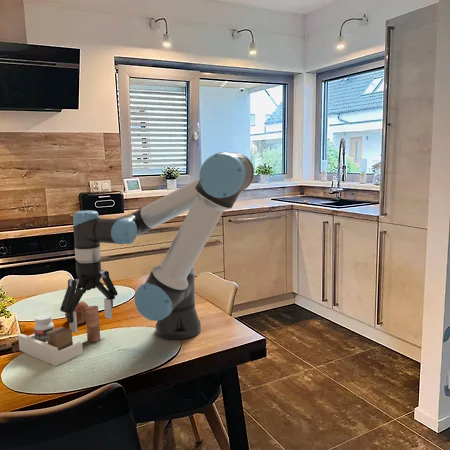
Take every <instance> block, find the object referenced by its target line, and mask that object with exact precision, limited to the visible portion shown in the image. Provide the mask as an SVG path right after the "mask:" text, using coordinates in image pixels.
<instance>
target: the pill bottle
mask: <svg viewBox="0 0 450 450" xmlns="http://www.w3.org/2000/svg"><path fill="white" fill-rule="evenodd" d="M52 318H53V317H52V315H51V314H41V315H37V316H36V317H34V323H36V324H34V326H33V331H34V333H33V334H35V339H37V340H39V341H42V342H47V332H48V331H51V330H54V329H55V325H54V322H53V321H52V320H53V319H52Z"/></svg>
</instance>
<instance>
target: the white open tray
mask: <svg viewBox="0 0 450 450" xmlns="http://www.w3.org/2000/svg"><path fill="white" fill-rule="evenodd" d="M17 338H18V347H19V351H20V352H23V353H25V354H27V355H30V356H32V357H34V358H36V359H38V360H41V361H43V362H45V363H48V364H49V365H52V366H54V367H57V366H60V365H62V364H64V363H66V362H68V361H70V360H72V359H74V358H76V357H79V356H81V355H84V354H83V353H84V352H83V351H84V349H83V346H82V343H83V342H81V341H79V342H78V341H77V342H76V343H74V344H73V345H71V346H69V347H66V348H64V349H62V350H59V351H58V348H57V347H54V346H52V345H49V344H48V341H47V342H42V341H39V340H37V339H35V334H34V333H32V334H30V335H26V334H23V333H19V334H18V335H17Z"/></svg>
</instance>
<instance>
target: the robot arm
mask: <svg viewBox="0 0 450 450" xmlns="http://www.w3.org/2000/svg"><path fill="white" fill-rule="evenodd" d="M254 169H255V168H254V165H253V163H252V161H251V159H250V158H249V157H248V156H246V155H244V154H243V153H241V152H234V151H233V152H230V151H221V152H217V153H215V154H214V153H213V154H212V155H211V156H209V157H208V158H206V159H205V161H204V162H203V163H202V165H201V167H200V170H199V175H198V178H197V179H195V180H193V181H191V182H189V183H187V184H185V185H184V186H182V187H179V188H178V189H175V190H174V191H172V192H169V193H168V194H166V195H164V196H162V197H161V198H159V199H157V200H155V201H153V202H151V203H149V204H146V205H145V206H144V207H141V208H140V209H138V210H135V211H134V212H131V213H129V214H127V215H126V214H125V215H122V216H119V217H116V218H103V217H100V216H99V212H98V211H97V210H91V209H90V210H88V209H87V210H79V211H75V212H74V213H73V216H72V218H73V219H72V220H73V221H72V222H73V223H72V224H73V225H72V230H73V239H74V254H75V255H74V257H75V261H76V262H75V273H76V275H77V276H76V277H77V278H76V279H70V278H69V279H68V280H67V288H66V291H65V295H64V297H63V300H62V303H61V306H60V309H59V311H60V312H62V313H64V314H65V313H67V318H66V321H67V323H68V324H69V329H70V330H72V333H74V334H76V333H78V324H77V317H76V312H74V310H75V308H76V306H77V305H78V303H79V302H81V299H82V297H83V295H84V294H86V292H87V291H91V290H93V289H97V290H99V292H100V293H101V294H103V295H104V298H103V306H104V318H106V319H109V320H112V319H113V310H112V309H113V307H114V301H113V300H115V298H116V297H117V296H118V295H119V293H118V291H117V289H116V287H115V285H114V284H113V281H112V280H111V278H110V273H109V271H108V270H104V269H102V261H101V260H100V259H101V257H102V256H101V243H103V244H115V245H117V244H118V245H131V244H133V243H134V242H135V240H136V238H137V237H138V236H141V235H144V234H146V233H148V231H150V230H152V229H154V228H156V227H158V226H160V225H163V224H164V223H166V222H168V221H169V220H172V219H174V218H176V217H178V216H180V215H182V214H184V213H186V212H187V213H186V216H185V219H184V220H183V221H182V224H181V226H180V228H179V229H178V231H177V232H176V235H175V237H174V238H173V240H172V243H171V244H170V246H169V248H168V250H167V251H166V254H165V256H164V258H162V259H163V260H162V261H161V263H160V264H157V265H154V266H153V268H152V269H151V271H150V273H149V274H148V276H147V279H146V280H145V281H144V283H143V284H141V285H140V286H139V287H138V289H136V291H135V293H134V305H135V307H136V310H137V312H138V313H139V314H140V315H141V316H142V317H144V318H145V319H147V320H149V321H154V322H156V324H155V334H156V336H158V337H159V338H162V339H165V340H170V341H171V340H174V341H176V340H177V341H178V340H185V339H186V340H187V339H190V338H193V337H195V336H197V335H198V334H200V333H201V331H202V327H201V326H202V324H201V321H200V319H199V315H198V313H197V310H196V298H195V297H196V296H195V276H196V275H195V269H194V265H195V263H196V262H197V260H198V259H199V256H200V254H201V252H202V251H203V249H204V247H205V246H206V244H207V242H208V241H209V239H210V237H211V235H212V233H213V232H214V230H215V228H216V226H217V224H218V223H219V220H220V219H221V217H222V215H223V213H224V212H225V211H227V210H231V209H232V208H233V206H234V204H235V203H236V201H237V199H238V198H239V196H240V195H241V193H242V192H243V191H245V190H246V189H248V188H249V186H250V185H251V184H252V182H253V180H254V176H255V170H254ZM101 279H102V281H103V283H104V284H105V285H104V284H103V283H102V282H101V281H100V280H101ZM105 286H106V287H105Z"/></svg>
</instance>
